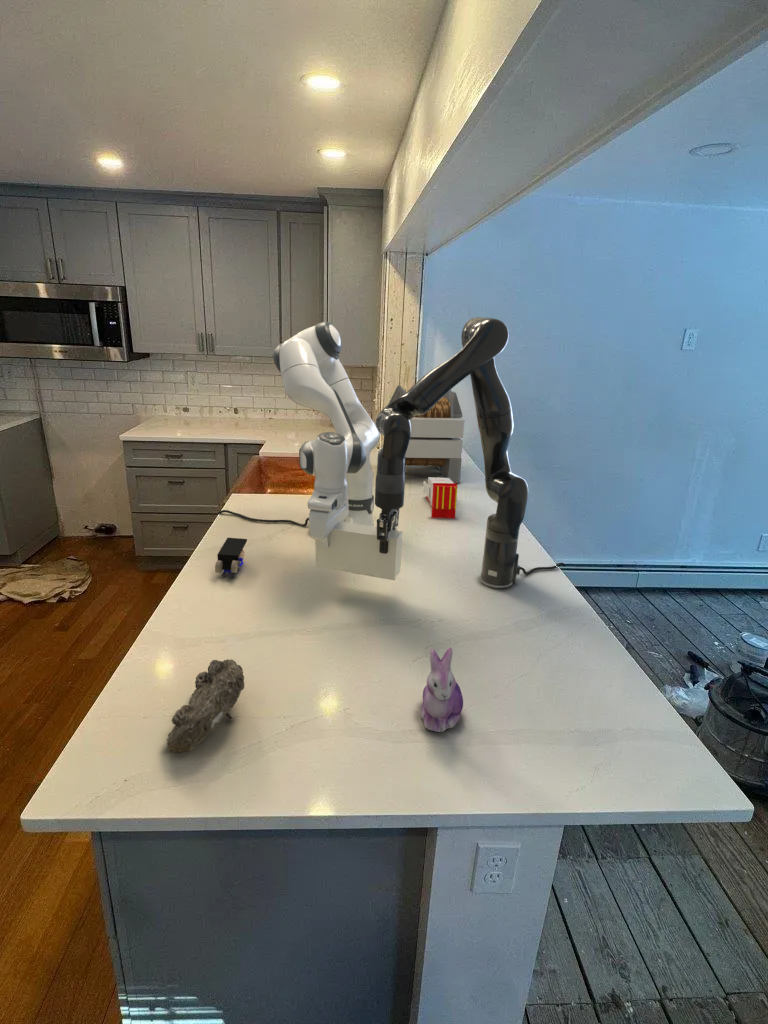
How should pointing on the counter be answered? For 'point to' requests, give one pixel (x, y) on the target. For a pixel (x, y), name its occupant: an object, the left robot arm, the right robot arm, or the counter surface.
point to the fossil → (206, 705)
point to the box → (360, 551)
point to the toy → (441, 497)
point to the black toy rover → (230, 556)
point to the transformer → (437, 436)
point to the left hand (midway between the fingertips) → (330, 542)
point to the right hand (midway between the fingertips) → (387, 548)
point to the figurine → (441, 695)
